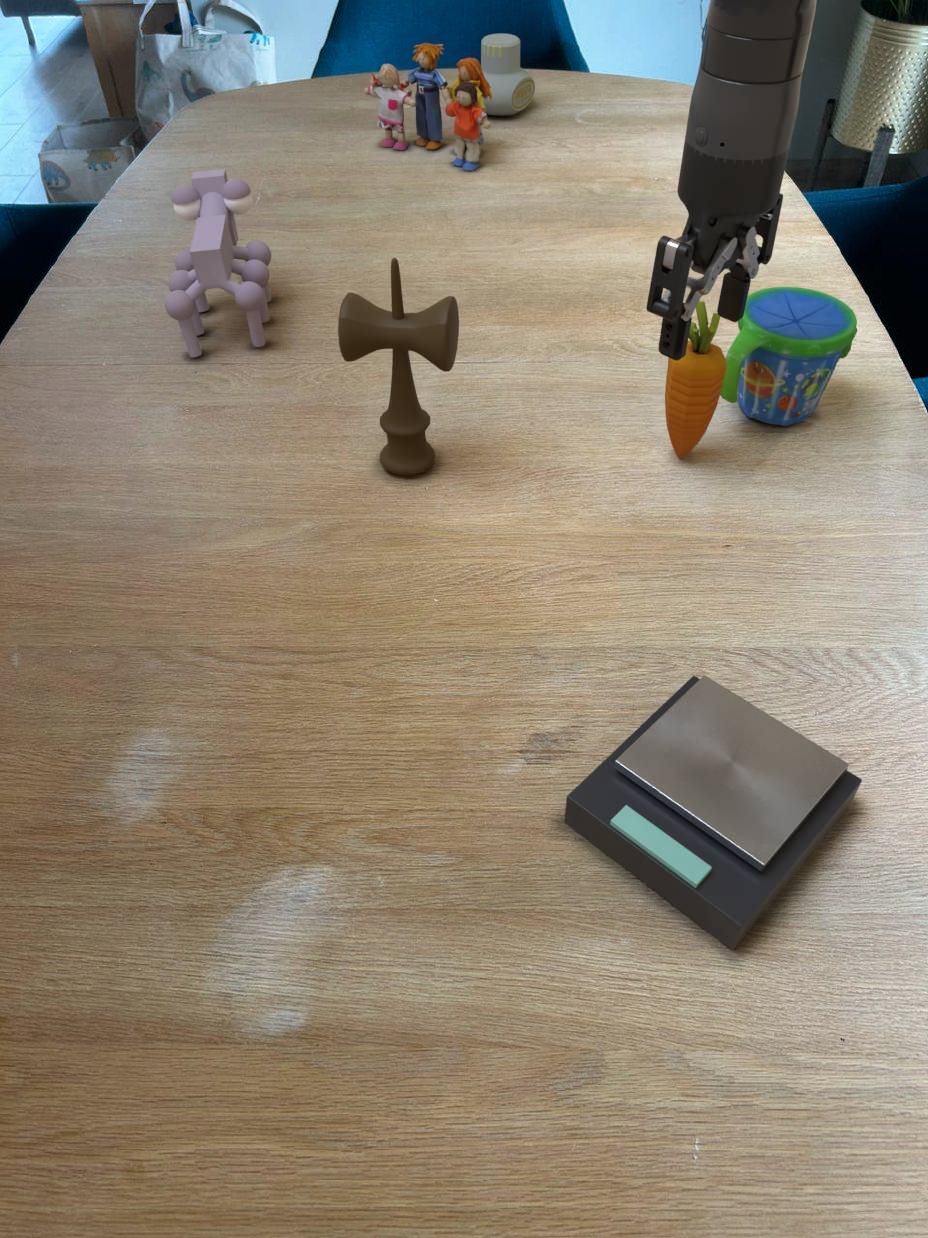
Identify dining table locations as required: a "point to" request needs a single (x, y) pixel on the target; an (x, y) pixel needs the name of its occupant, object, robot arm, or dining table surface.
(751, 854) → the scale pan
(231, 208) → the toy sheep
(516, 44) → the air freshener
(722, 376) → the carrot
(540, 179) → the dining table surface
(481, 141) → the doll family
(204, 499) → the dining table surface
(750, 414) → the snack cup
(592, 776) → the scale
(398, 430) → the kendama
